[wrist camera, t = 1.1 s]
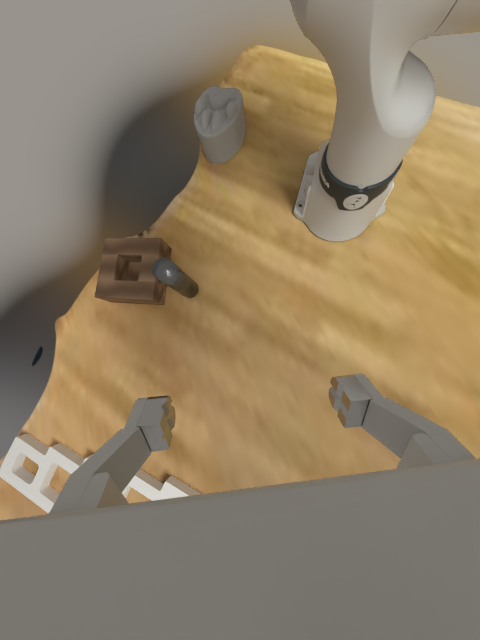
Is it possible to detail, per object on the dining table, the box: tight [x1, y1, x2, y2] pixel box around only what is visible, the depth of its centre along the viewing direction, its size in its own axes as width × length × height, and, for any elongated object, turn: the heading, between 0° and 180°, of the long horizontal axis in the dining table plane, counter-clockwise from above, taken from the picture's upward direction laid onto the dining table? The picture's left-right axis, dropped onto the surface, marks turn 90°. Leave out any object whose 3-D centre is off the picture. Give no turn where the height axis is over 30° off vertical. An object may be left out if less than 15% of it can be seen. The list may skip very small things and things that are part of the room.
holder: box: [0, 433, 200, 513], centre depth 46 cm, size 45×18×3 cm, turn 66°
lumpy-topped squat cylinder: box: [194, 86, 246, 164], centre depth 51 cm, size 10×13×9 cm
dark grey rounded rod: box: [152, 258, 198, 298], centre depth 44 cm, size 4×4×13 cm
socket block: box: [95, 238, 171, 305], centre depth 51 cm, size 14×14×5 cm
